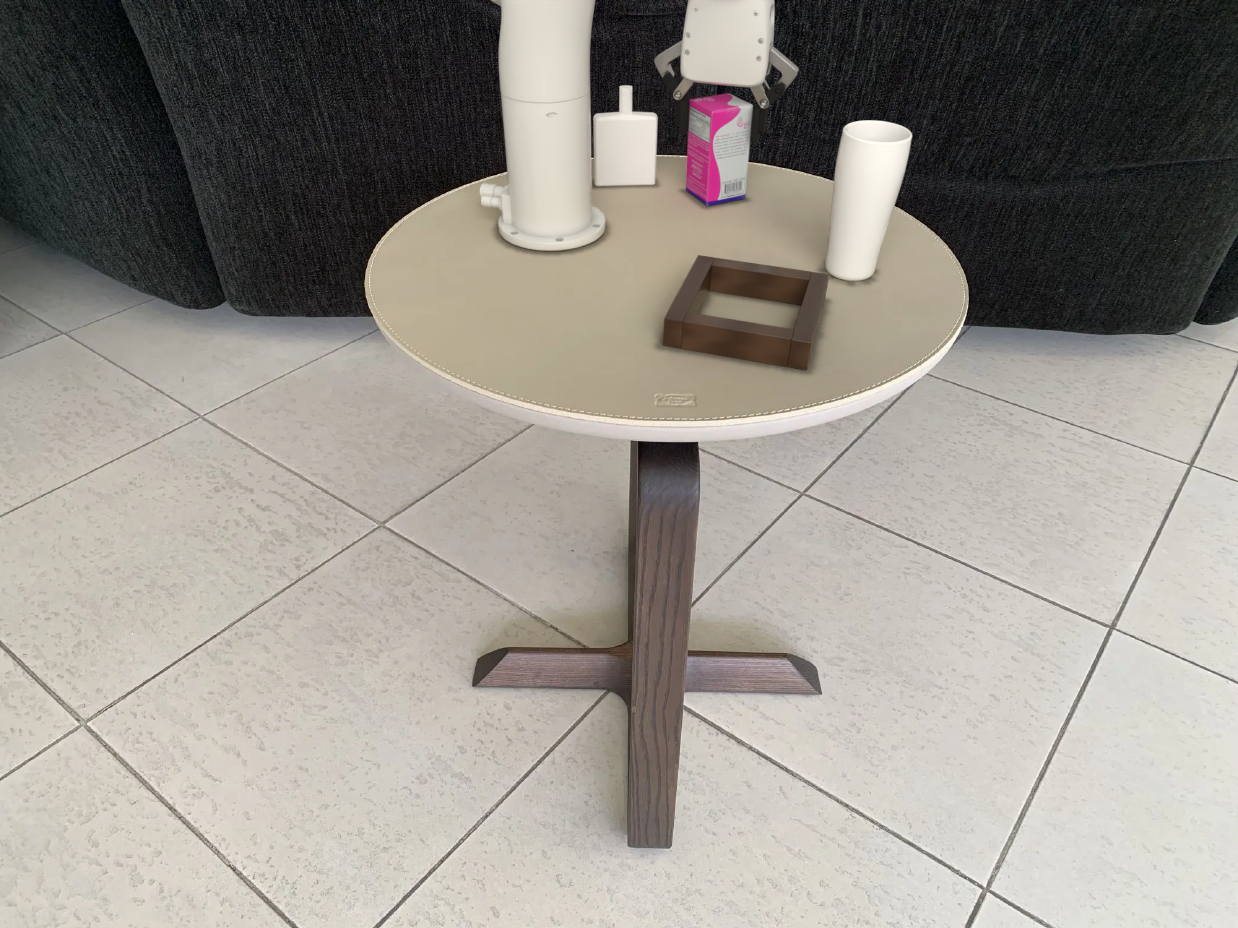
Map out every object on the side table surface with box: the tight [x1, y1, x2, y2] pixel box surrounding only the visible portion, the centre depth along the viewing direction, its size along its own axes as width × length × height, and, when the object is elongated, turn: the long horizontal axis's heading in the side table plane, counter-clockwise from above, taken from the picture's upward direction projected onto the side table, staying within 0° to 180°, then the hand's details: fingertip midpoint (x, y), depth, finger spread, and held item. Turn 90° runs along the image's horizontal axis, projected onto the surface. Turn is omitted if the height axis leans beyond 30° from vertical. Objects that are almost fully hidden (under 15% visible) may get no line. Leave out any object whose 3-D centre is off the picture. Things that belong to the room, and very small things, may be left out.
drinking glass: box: [824, 119, 913, 282], centre depth 86 cm, size 7×7×15 cm
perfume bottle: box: [592, 84, 659, 187], centre depth 105 cm, size 8×2×12 cm, turn 95°
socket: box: [662, 254, 830, 371], centre depth 81 cm, size 14×14×3 cm
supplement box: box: [685, 92, 754, 207], centre depth 103 cm, size 6×6×12 cm
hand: (719, 134), depth 102 cm, fingers open, 8 cm apart
